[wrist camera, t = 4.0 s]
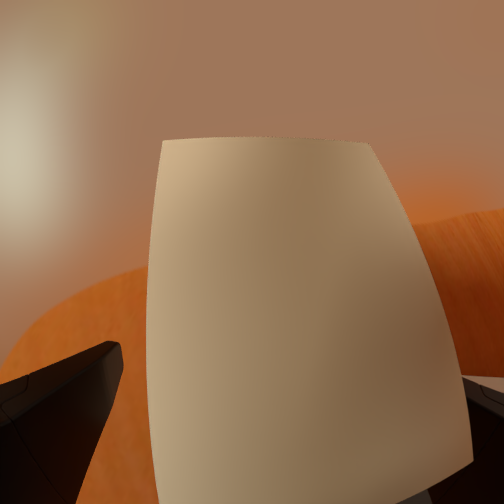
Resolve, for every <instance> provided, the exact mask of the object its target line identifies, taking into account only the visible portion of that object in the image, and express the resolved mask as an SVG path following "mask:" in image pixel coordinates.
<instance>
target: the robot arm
mask: <svg viewBox="0 0 504 504" xmlns="http://www.w3.org/2000/svg"><path fill="white" fill-rule="evenodd" d="M122 372H123V358H122V351H121V346H120V344H119V343H118V342H114V341H106V342H103V343H101V344H99V345H96V346H94V347H92V348H89V349H87V350H85V351H82V352H80V353H78V354H75V355H73V356H71V357H68V358H66V359H63V360H61V361H59V362H56V363H54V364H51V365H49V366H47V367H44V368H42V369H39V370H37V371H35V372H32V373H30V374H29V375H25V376H22V377H20V378H17V379H15V380H12V381H9V382H7V383H4V384H0V504H76V501H77V498H78V495H79V492H80V489H81V486H82V483H83V480H84V478H85V475H86V472H87V469H88V467H89V464H90V461H91V459H92V456H93V454H94V451H95V448H96V446H97V443H98V441H99V438H100V436H101V433H102V431H103V428H104V426H105V423H106V421H107V419H108V416H109V414H110V411H111V409H112V406H113V403H114V400H115V396H116V392H117V389H118V385H119V382H120V379H121V375H122ZM462 381H463V386H464V391H465V396H466V402H467V408H468V415H469V422H470V429H471V438H472V449H473V462H471V463H470V464H468V465H467V466H465V467H463V468H462V469H460V470H459V471H457V472H455V473H454V474H452V475H451V476H449V477H447V478H445V479H444V480H442V481H440V482H438V483H437V484H435V485H433V486H431V487H429V488H427V491H428V493H429V496H430V499H431V502H432V504H504V393H502V392H499V391H496V390H494V389H491V388H489V387H486V386H484V385H481V384H478V383H476V382H474V381H471V380H469V379H466V378H464V377H462Z"/></svg>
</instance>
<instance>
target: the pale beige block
mask: <svg viewBox="0 0 504 504" xmlns="http://www.w3.org/2000/svg"><path fill="white" fill-rule="evenodd" d="M146 364H147V392H148V410H149V423H150V435H151V445H152V455H153V463H154V471H155V478H156V485H157V492H158V498H159V504H396V503H398V502H400V501H403V500H405V499H407V498H409V497H411V496H413V495H415V494H417V493H419V492H421V491H423V490H425V489H427V488H429V487H431V486H433V485H435V484H437V483H438V482H440V481H442V480H444V479H445V478H447V477H449V476H451V475H452V474H454V473H455V472H457V471H459V470H460V469H462V468H463V467H465V466H467V465H468V464H470V463H471V462H473V449H472V438H471V429H470V422H469V415H468V408H467V402H466V396H465V391H464V386H463V381H462V376H461V371H460V367H459V363H458V358H457V354H456V350H455V346H454V343H453V339H452V335H451V332H450V328H449V325H448V321H447V318H446V315H445V312H444V309H443V305H442V302H441V299H440V296H439V293H438V291H437V288H436V285H435V282H434V279H433V277H432V274H431V271H430V269H429V266H428V264H427V261H426V258H425V256H424V254H423V251H422V249H421V246H420V244H419V242H418V239H417V237H416V235H415V232H414V230H413V228H412V226H411V223H410V221H409V219H408V217H407V215H406V213H405V211H404V209H403V207H402V204H401V202H400V200H399V198H398V196H397V194H396V192H395V190H394V189H393V186H392V185H391V183H390V181H389V179H388V177H387V175H386V173H385V171H384V170H383V168H382V166H381V164H380V162H379V161H378V159H377V157H376V155H375V154H374V152H373V150H372V149H371V147H370V145H369V144H368V143H360V142H350V141H338V140H325V139H309V138H283V137H218V138H195V139H178V140H166V141H163V143H162V150H161V156H160V163H159V170H158V176H157V184H156V191H155V200H154V208H153V218H152V228H151V239H150V251H149V266H148V284H147V314H146Z"/></svg>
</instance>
